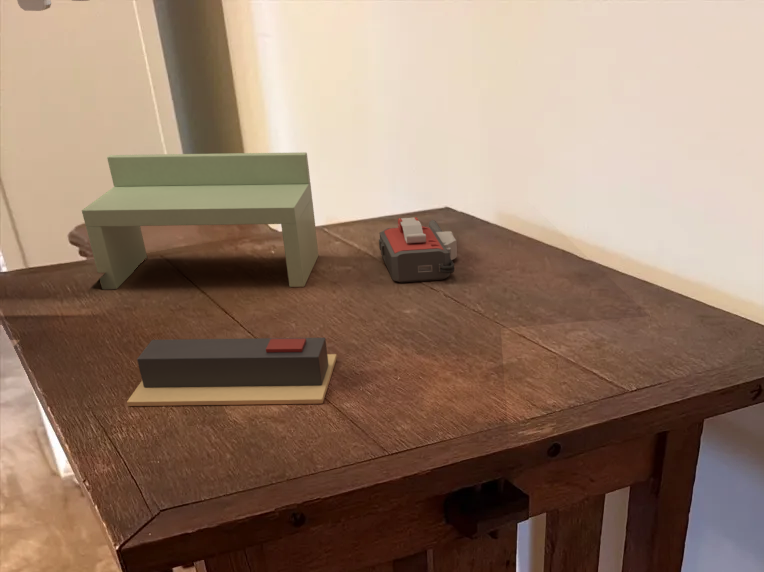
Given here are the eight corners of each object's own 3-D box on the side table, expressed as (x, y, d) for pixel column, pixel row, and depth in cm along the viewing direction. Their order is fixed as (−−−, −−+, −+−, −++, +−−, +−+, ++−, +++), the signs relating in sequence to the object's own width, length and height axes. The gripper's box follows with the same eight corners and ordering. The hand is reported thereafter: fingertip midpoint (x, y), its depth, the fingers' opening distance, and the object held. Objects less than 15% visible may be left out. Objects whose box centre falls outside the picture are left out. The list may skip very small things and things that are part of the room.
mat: (127, 406, 75) (126, 401, 74) (160, 360, 83) (159, 356, 82) (322, 403, 75) (322, 399, 74) (337, 358, 83) (336, 353, 82)
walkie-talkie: (472, 281, 100) (441, 234, 115) (472, 238, 97) (439, 196, 113) (393, 287, 99) (371, 238, 114) (390, 244, 96) (368, 200, 111)
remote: (143, 388, 77) (135, 355, 75) (158, 367, 80) (150, 336, 78) (321, 385, 77) (317, 353, 75) (328, 365, 80) (325, 333, 78)
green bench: (102, 289, 99) (73, 178, 92) (134, 257, 109) (110, 154, 102) (304, 286, 99) (290, 175, 92) (318, 255, 109) (307, 152, 102)
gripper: (17, -236, 67) (67, -6, 76) (-127, -284, 51) (-43, 15, 60) (103, -234, 67) (143, -4, 76) (-14, -281, 51) (54, 17, 60)
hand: (60, 5), depth 68 cm, fingers open, 8 cm apart
